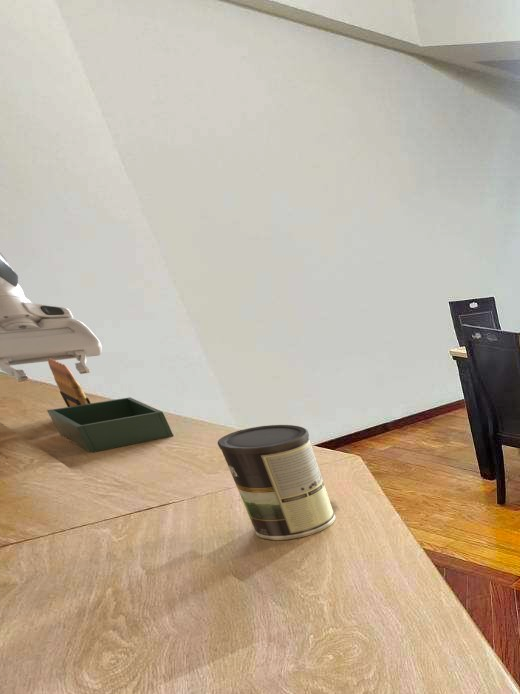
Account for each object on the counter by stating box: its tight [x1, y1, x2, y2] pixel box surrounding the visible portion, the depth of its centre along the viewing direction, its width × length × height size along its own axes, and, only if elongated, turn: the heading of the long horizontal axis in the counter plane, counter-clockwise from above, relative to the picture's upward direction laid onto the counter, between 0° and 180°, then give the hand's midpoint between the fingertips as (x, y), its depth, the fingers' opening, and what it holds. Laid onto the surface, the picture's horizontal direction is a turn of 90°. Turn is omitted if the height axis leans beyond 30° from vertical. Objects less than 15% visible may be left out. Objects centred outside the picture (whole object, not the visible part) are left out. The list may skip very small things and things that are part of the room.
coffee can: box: [217, 424, 337, 541], centre depth 86 cm, size 10×10×14 cm
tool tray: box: [46, 396, 174, 453], centre depth 117 cm, size 13×17×5 cm
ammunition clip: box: [47, 358, 91, 407], centre depth 124 cm, size 11×2×12 cm, turn 58°
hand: (54, 375), depth 126 cm, fingers open, 8 cm apart
